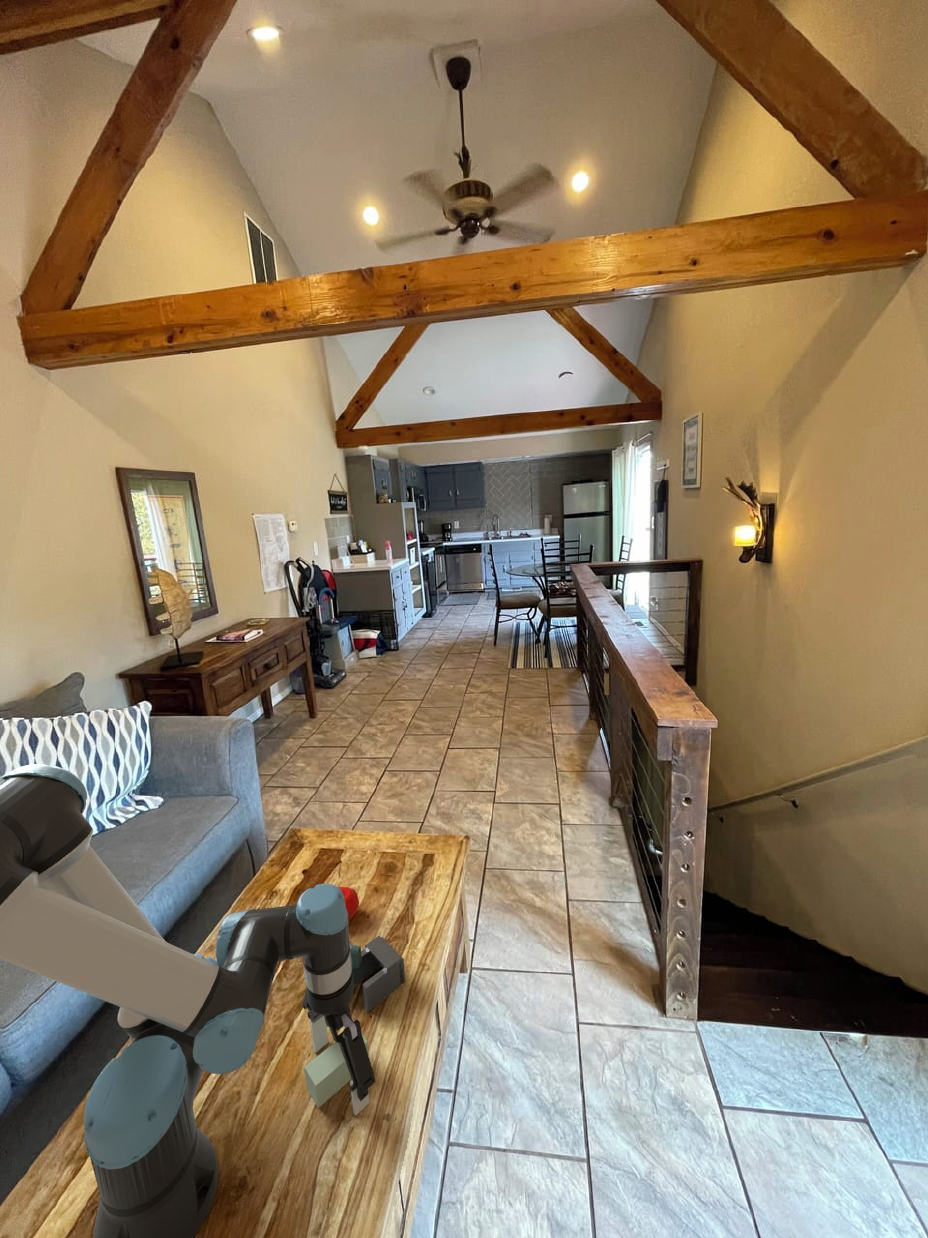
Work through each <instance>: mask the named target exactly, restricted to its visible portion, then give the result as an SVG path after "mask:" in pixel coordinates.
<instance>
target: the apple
mask: <svg viewBox="0 0 928 1238" xmlns="http://www.w3.org/2000/svg"><path fill="white" fill-rule="evenodd" d="M338 888H339V889H340V890H341V891H342V892H343V895H344V899H345V905H346V910H347V912H348V921H350V920H351V919H352V918H353V917H354V916H355V915H356V913H357V911H358V910H359V907H360V900H359V899H360V898H359V896H358V894H357V892H356V891H355V890H354V889H352V888H350V887H347V886H341V887H338Z"/></svg>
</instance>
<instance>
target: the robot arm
mask: <svg viewBox="0 0 928 1238" xmlns="http://www.w3.org/2000/svg"><path fill="white" fill-rule="evenodd" d="M87 800H88V792H87V788H86V786H85V784H84V783H83V782H82V781H81V779H80V778H79V777H78V776H76V775H75V774H74V773H73V772H70V771H69V770H67V769H65V768H63V767H59V766H56V765H52V766H51V765H47V764H44V763H43V764H40V763H39V764H38V763H37V764H35V763H34V764H28V765H23V766H21V767H17V768H14V769H12V770H11V771H8V772H6V773H4V775H1V776H0V960H3V961H5V962H8V963H11V964H13V965H15V966H17V967H19V968H22V969H25V970H28V971H30V972H32V973H35V974H37V975H40V976H43V977H45V978H47V979H50V980H53V981H54V982H57V983H60V984H62V985H65V986H67V987H69V988H72V989H75V990H77V991H80V992H82V993H85V994H87V995H90V996H92V997H95V998H97V999H99V1000H101V1001H104V1002H107V1003H109V1004H113V1005H114V1006H117V1007H119V1010H118V1013H117V1023H118V1024H119V1026H120V1027H121V1028H122V1030H123V1031H124V1032H126V1034H127V1035H128V1036H129V1038H130V1043H129V1045H127V1046H126V1047H125V1048H123V1049H122V1050H121V1051H120V1053H121V1054H120V1055H119V1056H118V1057H117V1058H116V1057H113V1058H112V1059H111V1060H110V1061H109V1062H108V1063H107V1064H106V1065H105V1066H104V1068H103V1069H102V1070H101V1072H100V1073H99V1075H98V1076H97V1078H96V1079H95V1081H94V1083H93V1085H92V1086H91V1089H90V1090H89V1094H88V1095H87V1099H86V1102H85V1107H84V1112H83V1131H84V1132H83V1135H84V1144H85V1148H86V1152H87V1155H88V1156H89V1159H90V1161H91V1162H90V1163H91V1166H92V1169H93V1174H94V1177H95V1178H94V1179H95V1181H96V1185H97V1188H98V1191H99V1195H100V1198H99V1202H98V1208H97V1212H96V1216H95V1217H96V1218H95V1221H94V1222H95V1223H94V1227H93V1238H195V1237H196V1236H197V1234H198V1232H199V1231H200V1229H201V1228H202V1226H203V1225H204V1222H205V1221H206V1219H207V1217H208V1215H209V1212H210V1210H211V1208H212V1205H213V1203H214V1200H215V1197H216V1193H217V1188H218V1183H219V1165H218V1159H217V1158H218V1157H217V1155H216V1150H215V1148H214V1145H213V1143H212V1141H211V1140H210V1139H209V1137H207V1135H206V1134H204V1132H203V1131H201V1130H200V1128H198V1127H197V1123H196V1118H195V1113H194V1102H195V1097H196V1095H197V1091H198V1089H199V1085H200V1083H201V1079H202V1077H203V1073H204V1072H206V1073H208V1074H214V1075H223V1074H229V1073H233V1072H234V1071H237V1070H238V1069H240V1068H242V1067H243V1066H244V1065H246V1063H248V1061H249V1060H251V1058H252V1056H253V1053H254V1052H255V1049H256V1046H257V1043H258V1040H259V1036H260V1033H261V1031H262V1028H263V1025H264V1024H265V1015H266V1011H267V1005H268V1002H269V998H270V992H271V988H272V986H273V982H274V979H275V974H276V971H277V967H278V963H279V962H284V961H289V960H294V959H299V958H302V960H303V961H302V967H303V973H304V975H303V976H304V981H305V982H304V983H305V985H306V989H305V993H304V997H303V1001H302V1005H301V1006H302V1008H303V1009H304V1011H306V1010H308V1012H307V1014H306V1015H307V1017H308V1019H309V1020H310V1021H309V1024H310V1026H309V1027H310V1033H311V1034H310V1035H311V1042H312V1049H313V1050H312V1051H313V1052H314V1053H315V1054H316V1053H317V1052H318V1051H320V1050H321V1049H322V1048H324V1046H326V1045H327V1044H329V1042H330V1041H329V1033H328V1028H329V1030H330V1033H331V1035H332V1036H331V1037H332V1038H333V1041H334V1042H337V1043H339V1046H340V1048H341V1051H342V1054H343V1056H344V1059H345V1062H346V1065H347V1067H348V1070H349V1073H350V1075H351V1078H352V1079H351V1080H350V1081H349V1085H350V1086H349V1089H350V1093H351V1103H352V1112H353V1114H354V1115H355V1116H357V1115H358V1114H359V1113H360V1112H361V1111H362V1110H364V1108H366V1107H367V1106H368V1105H369V1104H370V1091H369V1088H371V1087H372V1086H373V1085H374V1084H376V1076H375V1074H374V1070H373V1067H372V1066H373V1065H372V1063H371V1060H370V1055H369V1056H368V1053H369V1052H368V1053H367V1050H366V1046H365V1043H364V1040H363V1036H364V1035H363V1033H362V1026H361V1022H360V1020H359V1019H355V1020H354V1021H353V1018H352V1015H351V1009H350V1005H349V1004H350V1002H351V1000H352V998H353V995H354V992H355V986H354V981H353V971H352V964H351V953H350V950H351V945H350V943H351V942H350V931H349V929H350V928H349V920H348V912H347V910H346V905H345V899H344V895H343V892H342V891H341V890H340V889H339V888H340V887H338V886H337V885H335V884H332V883H320V884H316V885H315V886H314V887H312V888H307V889H306V890H305V891H304V892H302V894H300V896H299V898H298V900H297V901H296V902H297V903H295V904H290V905H283V906H274V907H267V908H266V907H265V908H257V909H255V908H251V909H248V910H245V911H239V912H235V913H234V912H233V913H231V914H228V915H227V916H226V917H225V918H224V919H223V920H222V921H221V923H220V926H219V928H218V934H217V935H218V936H217V938H216V942H215V958H216V959H215V958H214V957H211V956H209V957H207V958H206V957H205V955H204V954H199V953H191V952H188V951H186V950H184V949H182V948H180V947H177V946H175V945H173V944H171V943H168V942H167V941H166V940H165V939H164V938H163V936H162V935H161V934H160V933H159V932H158V930H157V929H156V927H154V925H153V924H152V923H151V921H150V920H149V919H148V917H147V916H146V914H144V912H143V911H142V910H141V909H140V907H139V906H138V905H137V903H136V902H135V900H134V899H133V898H132V897H131V896H130V895H129V893H128V892H127V891H126V890H125V888H124V887H123V885H122V884H121V883H120V882H119V881H118V879H117V878H116V877H115V876H114V875H113V873H112V872H111V870H110V869H109V868H108V867H107V865H106V864H105V863H104V862H103V860H102V859H101V858H100V857H99V856H98V854H97V853H96V852H95V850H94V849H93V848H92V847H91V845H90V844H91V843H90V842H91V840H92V836H93V833H94V828H93V827H92V825H91V824H90V823H89V821H88V820H87V819H86V818H85V816H84V815H83V813H84V811H85V809H86V806H87ZM342 1028H343V1030H342V1031H341V1032H340V1033H339V1034H338V1031H340V1030H341V1029H342ZM362 1035H363V1036H362Z"/></svg>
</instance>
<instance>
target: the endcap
mask: <svg viewBox="0 0 928 1238" xmlns="http://www.w3.org/2000/svg"><path fill="white" fill-rule="evenodd" d="M361 957H362V961H361V963H360V966H359V968H355V969H354V976H355V985H354V987H356V986H357V985H358V984H360V983H361V982H362V981H364V980H365V979H366V978H367V977H369V976H370V975H372V974H373V973H374V972H376V971H377V970H378V969H379V968H382V969H381V970H379V971H378V972H377V973H376V974H374V975H373V976H372V977H370V978H369V979H367V980H366V981H365V982H363V983H362V993H363V1005H364V1007H363V1008H364V1010H365V1011H366V1012H367V1013H369V1012H371V1011H372V1009H374V1008H375V1007H377V1006H378V1005H379V1004H380V1003H381V1002H382V1001H384V1000H385V999H386V998H387V997H388V996H390V995H391V994H392V993H394V992H395V991H396V990H398V988H400V987H401V986H402V985H404V984H405V983H406V975H405V974H406V973H405V971H406V970H405V958H403V957H402V956H401V955H400V953H399V952H398V951H397V950H396V949H394V947H393V946H392V945H391V944H390V943H389V942H388V941H387V940H386V939H385V938H384V937H383V936H380V935H378V936H376V937H374V938H373V939H372V940H370V941H369V942H367V943H366V944H365V947H364V949H361ZM351 964H352V958H351Z"/></svg>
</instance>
